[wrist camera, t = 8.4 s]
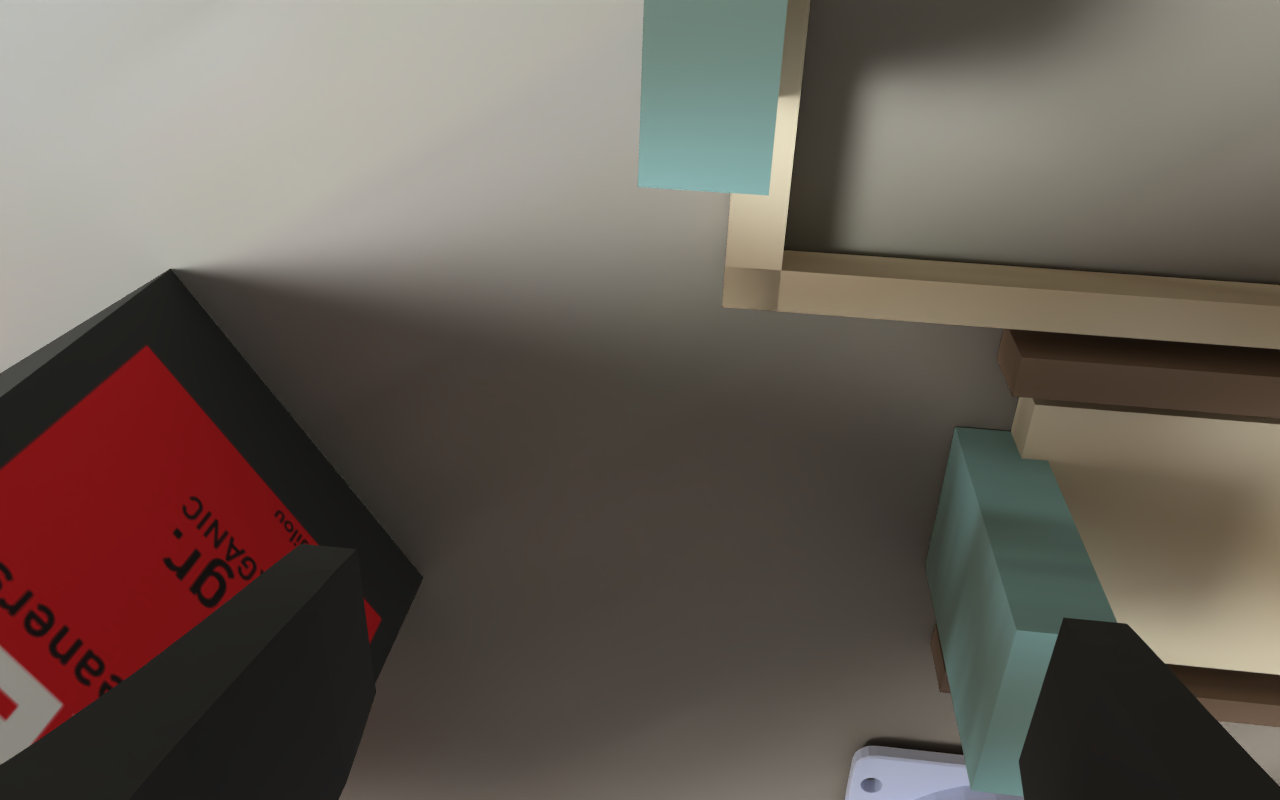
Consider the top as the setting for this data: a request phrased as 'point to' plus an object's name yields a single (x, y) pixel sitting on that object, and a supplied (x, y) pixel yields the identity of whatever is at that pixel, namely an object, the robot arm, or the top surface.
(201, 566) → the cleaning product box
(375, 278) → the top surface
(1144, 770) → the robot arm
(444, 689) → the top surface
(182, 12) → the top surface
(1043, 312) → the frame
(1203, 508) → the lane frame
